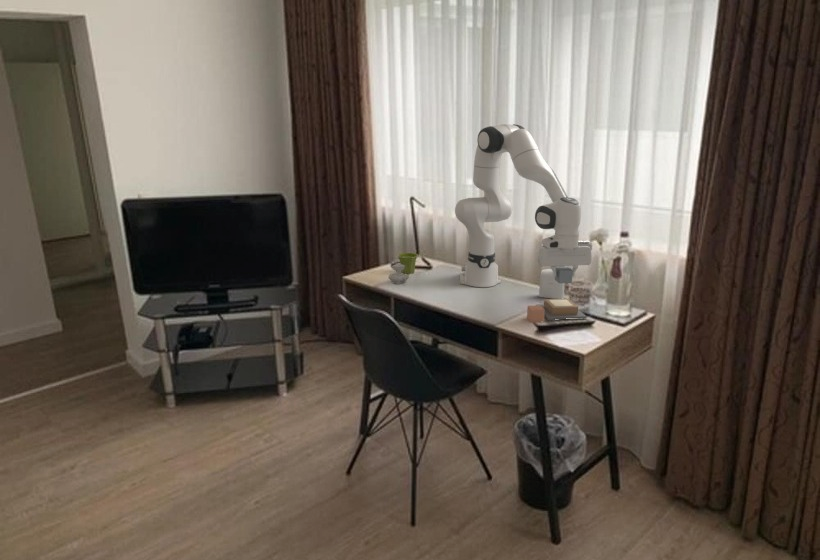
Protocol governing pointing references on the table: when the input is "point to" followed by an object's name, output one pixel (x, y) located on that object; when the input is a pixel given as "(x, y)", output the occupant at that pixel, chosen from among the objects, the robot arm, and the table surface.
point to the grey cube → (564, 275)
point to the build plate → (552, 317)
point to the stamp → (398, 274)
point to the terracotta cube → (535, 313)
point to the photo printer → (550, 285)
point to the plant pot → (408, 262)
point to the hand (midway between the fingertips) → (563, 276)
